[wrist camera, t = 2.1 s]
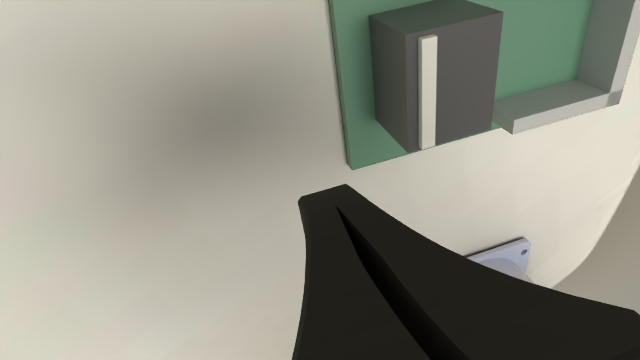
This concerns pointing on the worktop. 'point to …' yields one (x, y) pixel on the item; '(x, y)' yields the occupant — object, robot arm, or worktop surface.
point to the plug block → (435, 70)
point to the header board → (500, 65)
